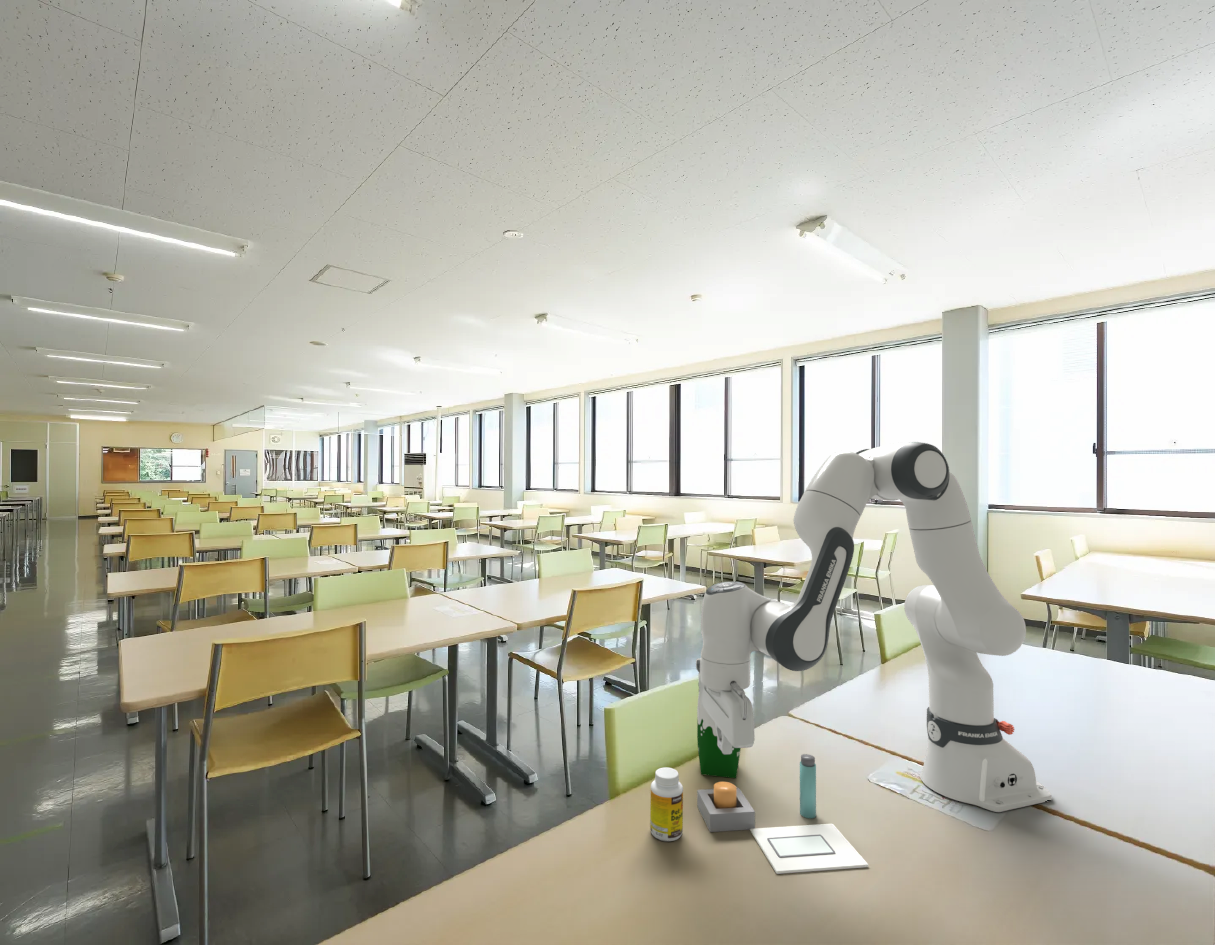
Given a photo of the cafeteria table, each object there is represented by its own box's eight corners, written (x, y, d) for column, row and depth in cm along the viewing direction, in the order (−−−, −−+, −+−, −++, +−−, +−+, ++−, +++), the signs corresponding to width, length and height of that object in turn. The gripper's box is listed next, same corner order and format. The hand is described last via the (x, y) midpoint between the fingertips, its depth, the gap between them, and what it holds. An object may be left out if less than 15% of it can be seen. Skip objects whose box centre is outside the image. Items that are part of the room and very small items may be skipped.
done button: (732, 799, 105) (732, 781, 105) (739, 812, 101) (739, 792, 101) (710, 801, 105) (711, 782, 105) (717, 813, 101) (717, 793, 101)
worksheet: (832, 825, 101) (832, 822, 101) (868, 867, 90) (868, 863, 90) (750, 831, 99) (750, 828, 99) (776, 873, 88) (776, 870, 88)
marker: (811, 809, 106) (811, 753, 106) (818, 817, 103) (818, 760, 103) (797, 810, 106) (797, 754, 106) (804, 818, 103) (804, 761, 103)
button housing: (738, 803, 107) (738, 787, 108) (754, 829, 100) (754, 811, 100) (697, 806, 106) (697, 789, 107) (709, 831, 99) (710, 814, 99)
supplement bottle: (672, 847, 94) (673, 784, 95) (644, 835, 98) (644, 774, 98) (688, 831, 99) (688, 770, 99) (660, 820, 102) (661, 761, 102)
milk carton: (698, 756, 126) (698, 665, 127) (740, 761, 124) (740, 668, 125) (696, 776, 118) (696, 678, 118) (741, 781, 116) (741, 681, 116)
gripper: (764, 693, 94) (764, 779, 93) (724, 656, 114) (723, 726, 114) (727, 694, 93) (726, 780, 93) (693, 657, 113) (692, 728, 113)
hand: (724, 750), depth 103 cm, fingers closed
